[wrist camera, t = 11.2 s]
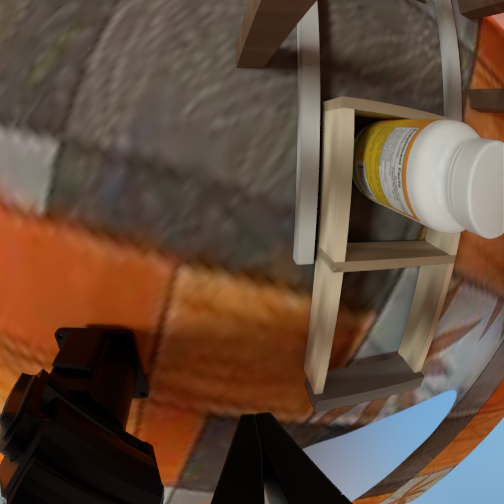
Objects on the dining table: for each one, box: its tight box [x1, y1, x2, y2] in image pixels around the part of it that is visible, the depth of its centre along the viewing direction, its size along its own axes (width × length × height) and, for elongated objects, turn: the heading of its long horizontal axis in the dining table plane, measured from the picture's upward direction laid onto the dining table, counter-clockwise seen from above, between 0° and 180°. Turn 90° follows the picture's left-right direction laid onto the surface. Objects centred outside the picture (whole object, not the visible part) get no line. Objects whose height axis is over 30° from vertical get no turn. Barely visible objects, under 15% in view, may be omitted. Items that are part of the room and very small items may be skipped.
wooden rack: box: [304, 96, 471, 412], centre depth 18 cm, size 20×9×4 cm, turn 0°
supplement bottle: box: [352, 119, 504, 239], centre depth 13 cm, size 5×5×10 cm
